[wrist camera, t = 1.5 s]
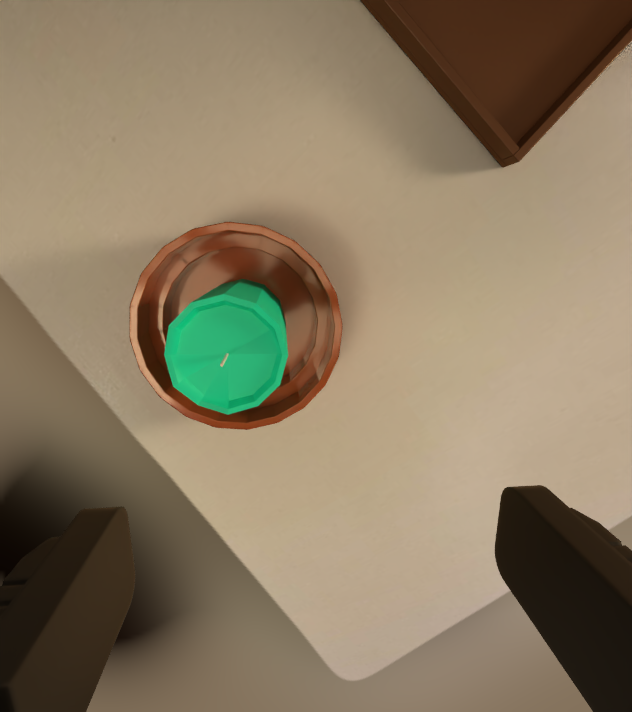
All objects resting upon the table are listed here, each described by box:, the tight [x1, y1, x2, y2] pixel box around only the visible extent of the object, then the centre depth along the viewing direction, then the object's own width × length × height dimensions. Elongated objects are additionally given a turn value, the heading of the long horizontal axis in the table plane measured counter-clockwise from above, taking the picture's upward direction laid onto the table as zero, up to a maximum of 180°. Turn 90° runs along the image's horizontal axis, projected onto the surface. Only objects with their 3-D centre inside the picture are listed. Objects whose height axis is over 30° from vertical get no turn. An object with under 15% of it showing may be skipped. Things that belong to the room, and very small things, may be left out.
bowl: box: [130, 222, 342, 430], centre depth 28 cm, size 13×13×5 cm
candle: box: [164, 279, 288, 415], centre depth 24 cm, size 6×6×12 cm
